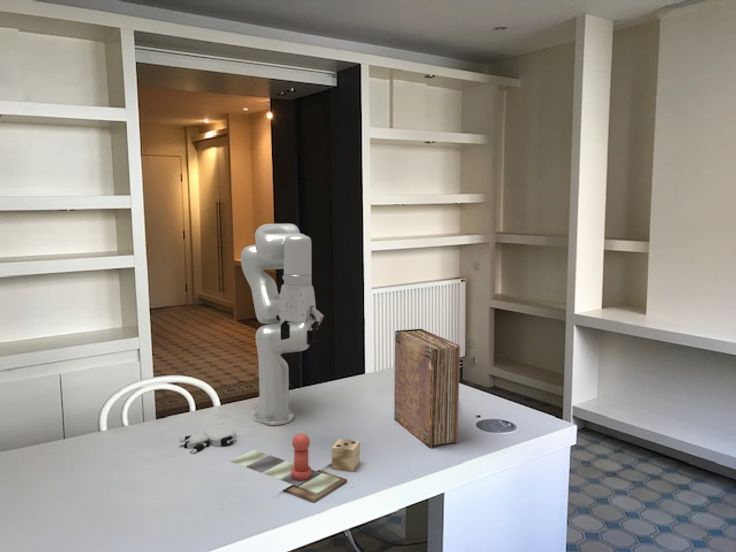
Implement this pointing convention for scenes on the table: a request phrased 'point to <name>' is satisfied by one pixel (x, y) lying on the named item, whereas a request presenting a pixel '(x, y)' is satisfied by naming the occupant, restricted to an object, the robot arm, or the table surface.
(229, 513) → the table surface
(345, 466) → the die
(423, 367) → the book
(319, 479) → the board
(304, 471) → the pawn
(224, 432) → the robot toy
